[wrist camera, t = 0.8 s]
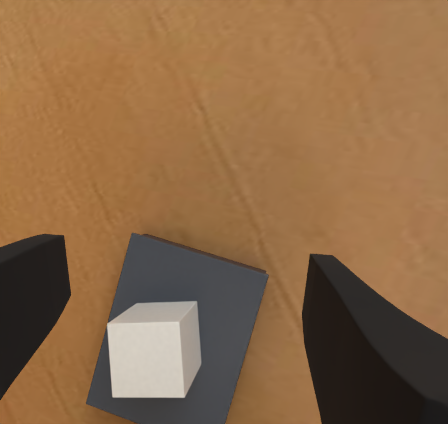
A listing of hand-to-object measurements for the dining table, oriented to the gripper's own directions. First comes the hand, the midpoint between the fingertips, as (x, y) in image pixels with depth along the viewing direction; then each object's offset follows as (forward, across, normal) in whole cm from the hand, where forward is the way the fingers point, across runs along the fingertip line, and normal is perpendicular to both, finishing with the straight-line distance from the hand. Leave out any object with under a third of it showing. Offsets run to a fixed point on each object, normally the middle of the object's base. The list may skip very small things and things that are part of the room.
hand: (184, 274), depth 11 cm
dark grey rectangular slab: (+14, +3, +14) cm, 20 cm away
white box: (+12, +3, +12) cm, 18 cm away
